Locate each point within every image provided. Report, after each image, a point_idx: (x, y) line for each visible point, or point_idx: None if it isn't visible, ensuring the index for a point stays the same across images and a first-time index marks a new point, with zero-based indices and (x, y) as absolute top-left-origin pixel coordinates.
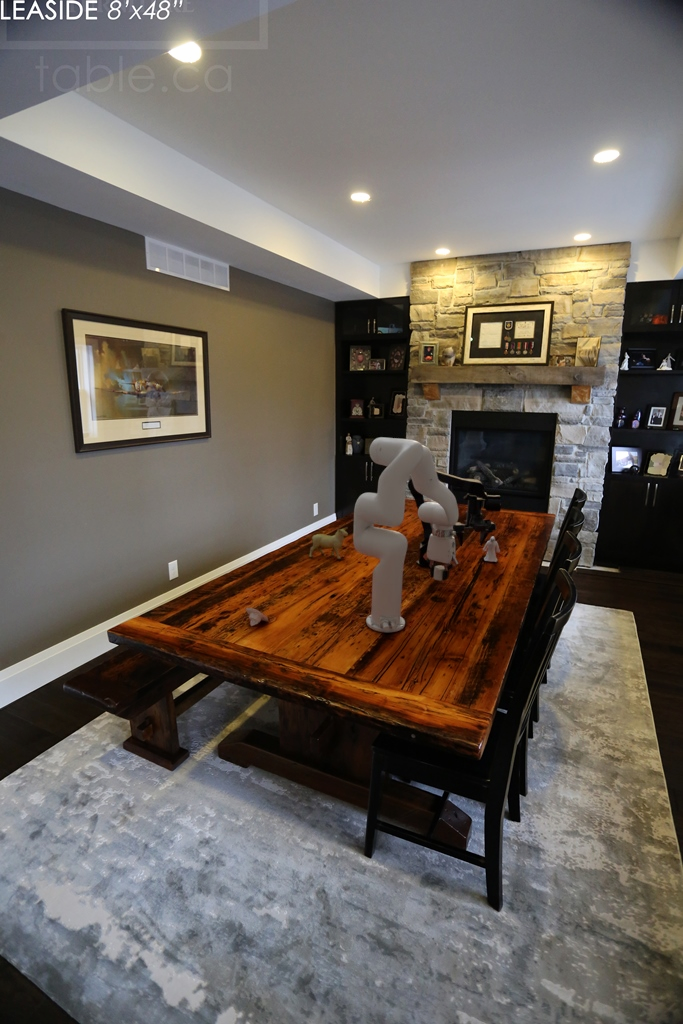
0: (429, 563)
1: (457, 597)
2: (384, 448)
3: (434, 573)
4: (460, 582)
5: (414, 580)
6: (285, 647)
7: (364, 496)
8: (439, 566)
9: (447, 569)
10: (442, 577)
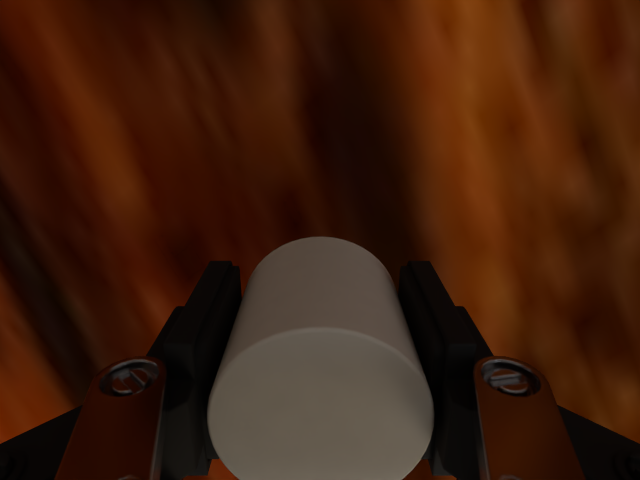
0: (569, 428)
1: (35, 151)
2: None
3: (375, 287)
4: (227, 471)
5: (614, 274)
6: None
7: None
8: (351, 463)
9: (91, 384)
10: (245, 292)
